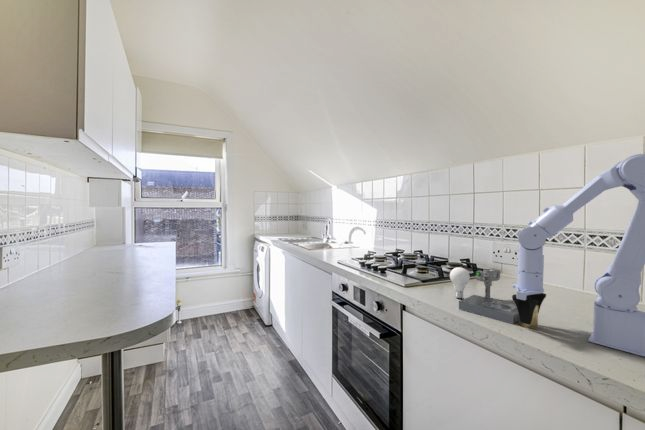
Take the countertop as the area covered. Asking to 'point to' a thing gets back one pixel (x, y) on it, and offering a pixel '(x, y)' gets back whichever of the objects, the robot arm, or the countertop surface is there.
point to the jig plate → (490, 308)
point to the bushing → (534, 320)
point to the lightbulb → (459, 280)
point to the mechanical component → (488, 278)
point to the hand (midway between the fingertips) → (528, 320)
